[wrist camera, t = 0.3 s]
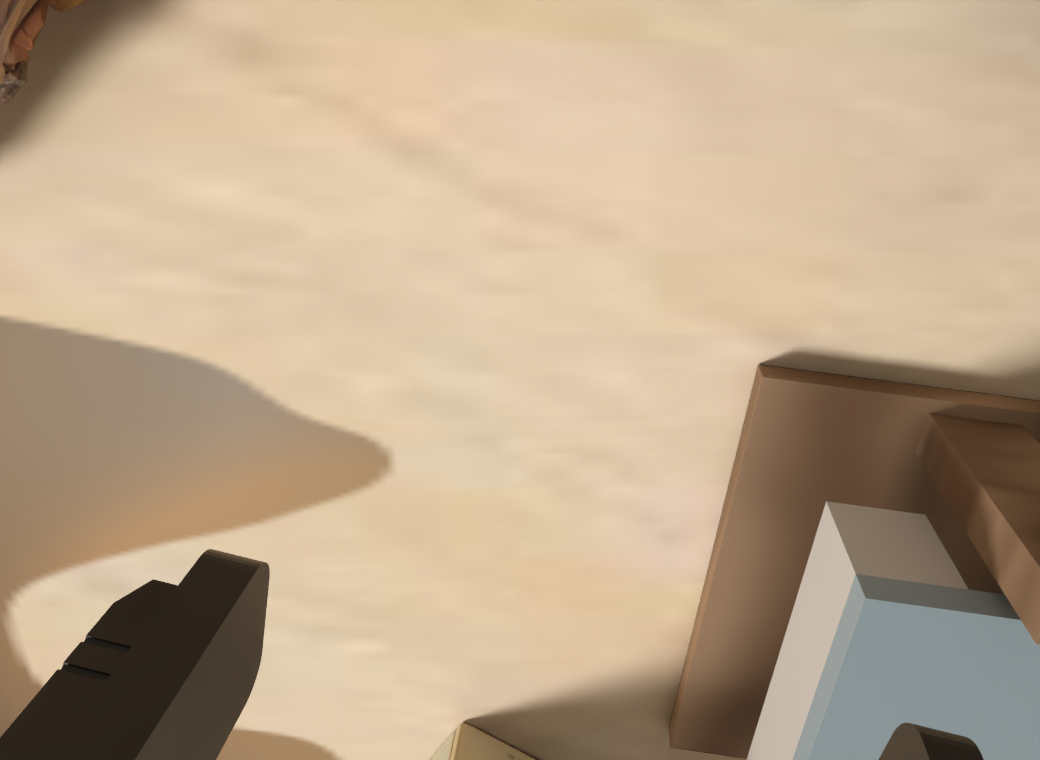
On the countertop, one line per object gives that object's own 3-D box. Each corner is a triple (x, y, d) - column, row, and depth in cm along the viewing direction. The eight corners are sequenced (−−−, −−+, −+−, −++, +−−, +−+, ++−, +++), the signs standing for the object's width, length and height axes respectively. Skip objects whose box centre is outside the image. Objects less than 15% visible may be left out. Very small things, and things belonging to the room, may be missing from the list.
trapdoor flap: (742, 774, 32) (761, 892, 28) (826, 501, 26) (865, 598, 22) (1160, 835, 31) (1242, 965, 27) (1331, 569, 26) (1466, 681, 22)
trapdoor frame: (667, 733, 36) (686, 983, 28) (760, 356, 29) (829, 533, 20) (1125, 800, 36) (1298, 1080, 27) (1346, 432, 28) (1693, 651, 19)
